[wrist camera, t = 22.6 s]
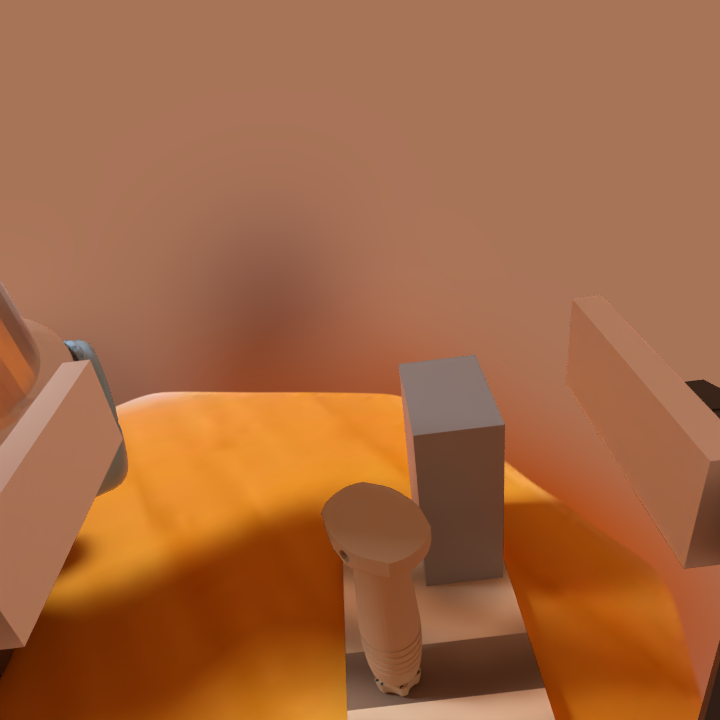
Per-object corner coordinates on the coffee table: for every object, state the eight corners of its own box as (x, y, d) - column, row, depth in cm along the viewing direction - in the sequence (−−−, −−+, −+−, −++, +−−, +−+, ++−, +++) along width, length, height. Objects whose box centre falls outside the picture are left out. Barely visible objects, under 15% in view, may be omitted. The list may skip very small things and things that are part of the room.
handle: (407, 737, 37) (385, 578, 29) (339, 670, 41) (304, 516, 34) (456, 681, 40) (447, 522, 32) (388, 623, 44) (365, 471, 36)
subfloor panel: (343, 528, 54) (341, 518, 53) (485, 510, 54) (484, 501, 53) (353, 848, 33) (351, 839, 33) (583, 823, 33) (585, 813, 33)
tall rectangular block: (412, 503, 54) (398, 364, 46) (481, 495, 54) (479, 354, 46) (426, 586, 46) (413, 435, 39) (506, 576, 46) (509, 424, 38)
